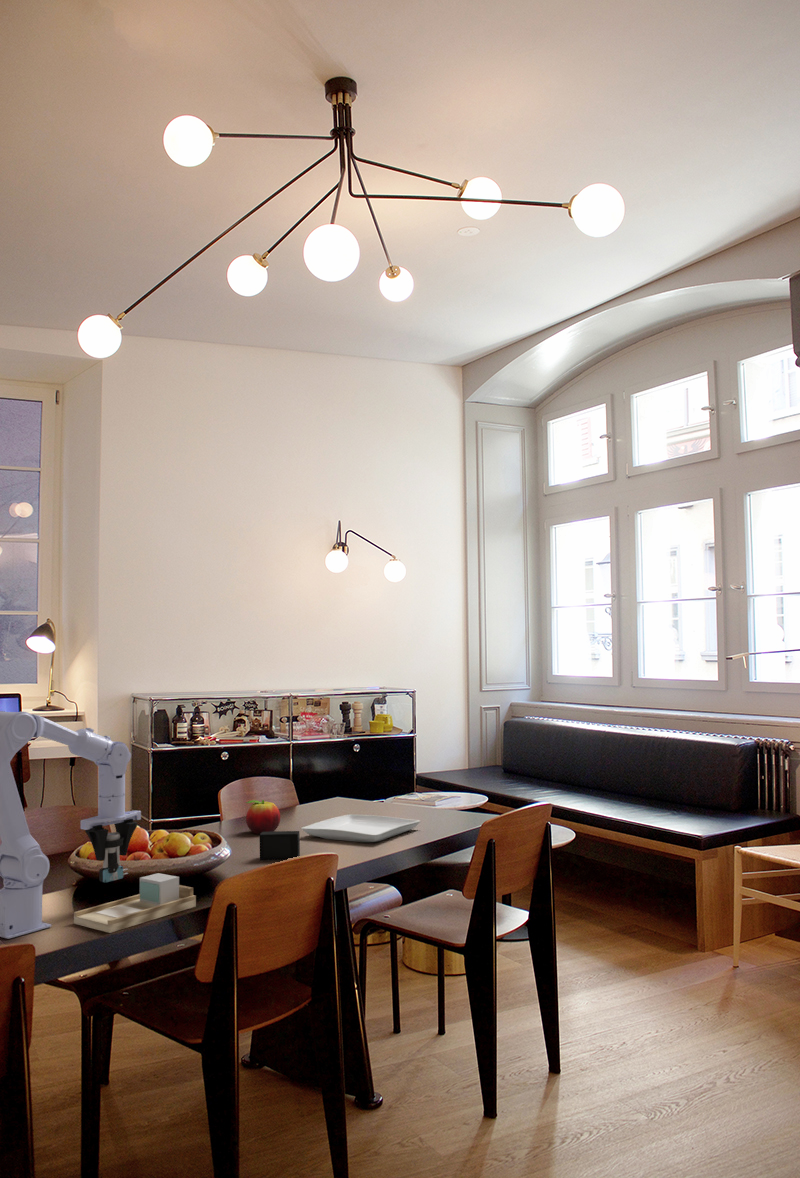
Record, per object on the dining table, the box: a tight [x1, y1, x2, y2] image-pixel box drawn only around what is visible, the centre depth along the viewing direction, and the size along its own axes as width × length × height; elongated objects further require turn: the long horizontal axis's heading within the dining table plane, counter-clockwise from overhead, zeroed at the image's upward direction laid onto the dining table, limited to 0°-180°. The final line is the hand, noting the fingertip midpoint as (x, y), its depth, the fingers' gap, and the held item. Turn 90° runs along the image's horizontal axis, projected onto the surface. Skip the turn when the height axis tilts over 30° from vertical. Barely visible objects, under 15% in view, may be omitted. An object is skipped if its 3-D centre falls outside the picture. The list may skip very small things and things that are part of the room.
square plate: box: [300, 813, 421, 843], centre depth 269 cm, size 27×27×4 cm
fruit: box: [245, 799, 281, 835], centre depth 276 cm, size 11×11×10 cm
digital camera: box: [259, 830, 301, 862], centre depth 239 cm, size 10×5×7 cm, turn 90°
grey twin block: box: [139, 872, 180, 905], centre depth 192 cm, size 5×7×5 cm
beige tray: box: [73, 884, 197, 934], centre depth 187 cm, size 22×12×4 cm, turn 144°
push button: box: [98, 831, 129, 883], centre depth 196 cm, size 7×5×10 cm
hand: (111, 857), depth 195 cm, fingers closed on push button, 5 cm apart
